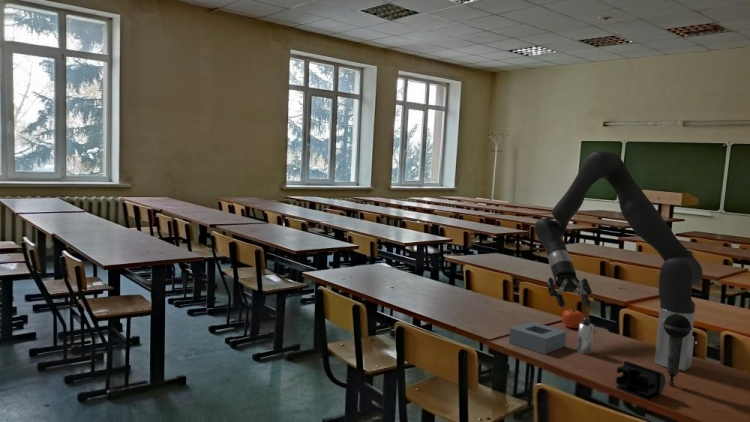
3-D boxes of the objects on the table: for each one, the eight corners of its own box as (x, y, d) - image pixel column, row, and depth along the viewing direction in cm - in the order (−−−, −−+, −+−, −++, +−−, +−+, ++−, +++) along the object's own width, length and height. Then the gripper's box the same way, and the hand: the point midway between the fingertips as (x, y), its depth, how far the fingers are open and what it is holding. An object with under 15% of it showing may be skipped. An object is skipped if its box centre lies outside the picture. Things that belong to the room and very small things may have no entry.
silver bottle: (594, 352, 175) (596, 318, 174) (587, 355, 172) (590, 321, 171) (580, 348, 178) (583, 315, 177) (574, 351, 175) (577, 317, 174)
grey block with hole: (565, 346, 180) (566, 331, 179) (544, 354, 171) (545, 338, 171) (530, 335, 189) (531, 321, 189) (509, 342, 180) (510, 328, 180)
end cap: (664, 396, 144) (666, 371, 143) (650, 402, 139) (653, 376, 139) (627, 382, 152) (630, 358, 151) (613, 387, 147) (616, 363, 147)
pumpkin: (578, 331, 197) (580, 311, 196) (557, 326, 202) (558, 307, 202) (586, 327, 203) (588, 308, 202) (565, 322, 208) (567, 303, 207)
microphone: (690, 391, 147) (698, 318, 145) (664, 389, 147) (672, 317, 146) (677, 381, 154) (684, 311, 152) (652, 379, 154) (659, 310, 152)
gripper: (546, 259, 188) (559, 300, 178) (585, 260, 190) (600, 301, 180) (538, 271, 194) (550, 311, 184) (576, 272, 196) (590, 312, 186)
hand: (575, 306), depth 182 cm, fingers open, 8 cm apart
